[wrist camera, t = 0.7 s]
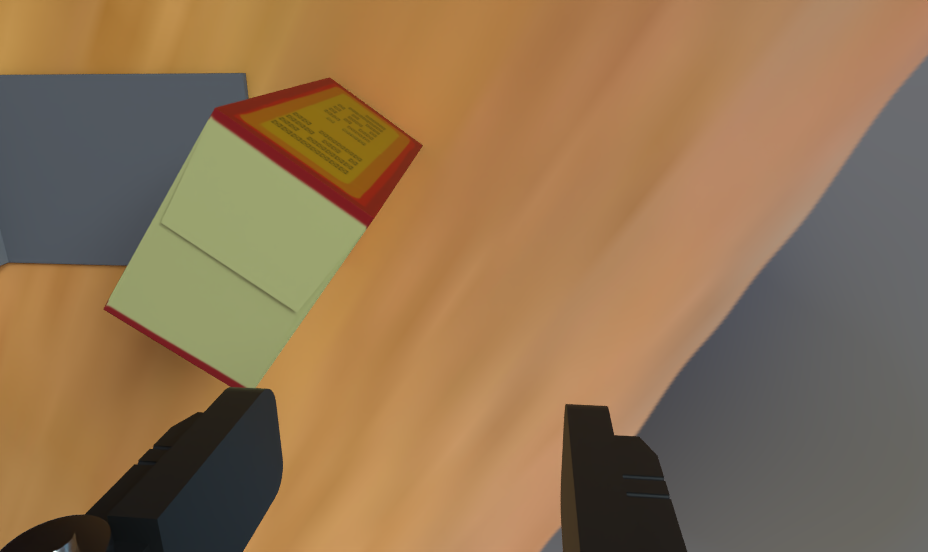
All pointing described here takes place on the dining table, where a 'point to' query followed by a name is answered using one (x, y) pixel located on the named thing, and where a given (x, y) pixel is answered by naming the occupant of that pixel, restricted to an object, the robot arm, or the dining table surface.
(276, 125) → the baking soda box
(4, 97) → the bookend
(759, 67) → the dining table surface
